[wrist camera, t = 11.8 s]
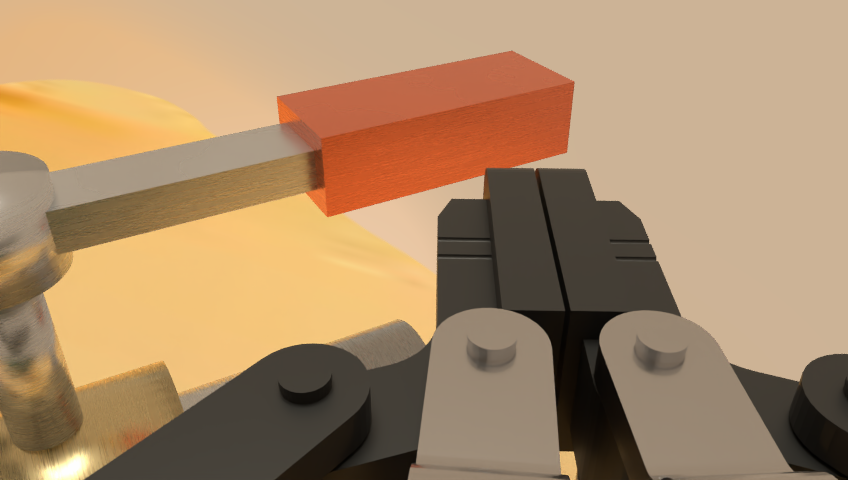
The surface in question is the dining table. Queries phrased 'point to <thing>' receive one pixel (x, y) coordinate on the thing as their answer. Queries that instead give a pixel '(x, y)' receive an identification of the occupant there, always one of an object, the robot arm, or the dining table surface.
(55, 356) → the pipe valve
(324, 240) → the dining table surface
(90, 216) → the valve lever
